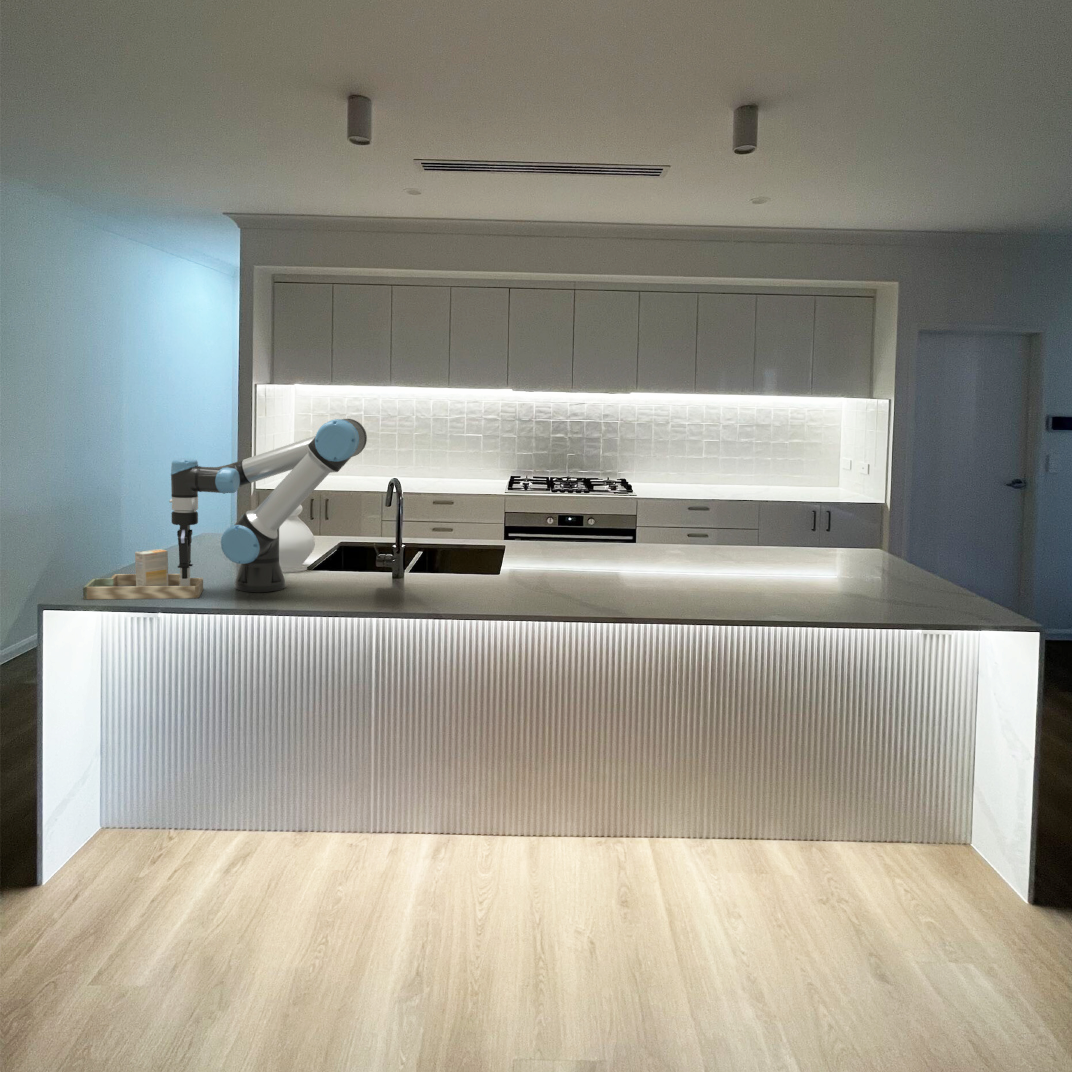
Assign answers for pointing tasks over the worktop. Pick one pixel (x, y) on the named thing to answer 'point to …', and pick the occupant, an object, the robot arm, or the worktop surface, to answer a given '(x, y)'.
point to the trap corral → (140, 588)
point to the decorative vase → (294, 543)
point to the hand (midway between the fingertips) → (185, 588)
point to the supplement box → (151, 568)
